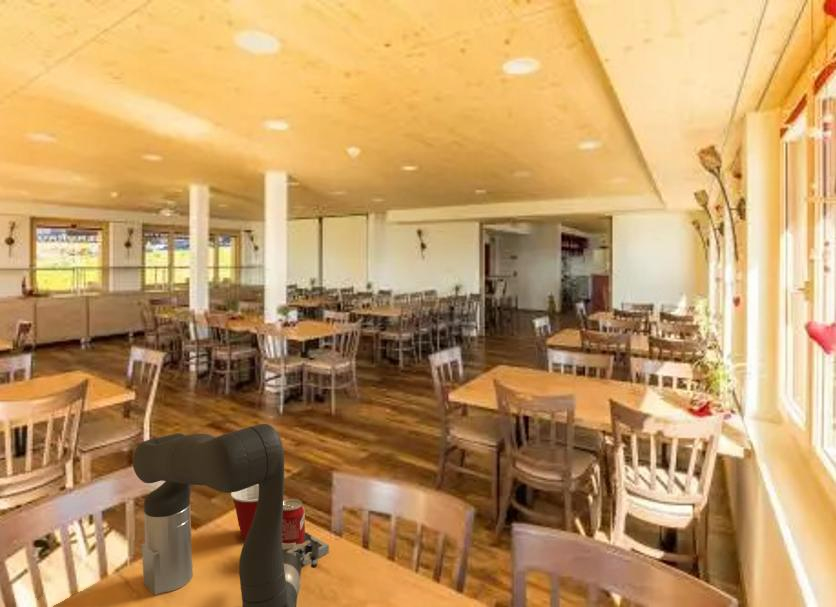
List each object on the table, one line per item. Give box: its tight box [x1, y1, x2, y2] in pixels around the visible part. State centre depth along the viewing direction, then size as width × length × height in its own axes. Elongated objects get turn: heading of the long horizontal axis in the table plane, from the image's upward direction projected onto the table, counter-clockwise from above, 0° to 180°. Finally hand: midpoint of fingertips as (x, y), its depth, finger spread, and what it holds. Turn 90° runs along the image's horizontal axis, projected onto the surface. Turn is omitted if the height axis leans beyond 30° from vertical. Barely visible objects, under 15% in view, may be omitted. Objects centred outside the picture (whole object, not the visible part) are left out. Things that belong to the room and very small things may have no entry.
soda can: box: [282, 498, 306, 549], centre depth 126 cm, size 7×7×12 cm
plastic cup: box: [230, 484, 259, 541], centre depth 135 cm, size 11×11×12 cm
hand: (287, 538), depth 117 cm, fingers open, 8 cm apart
